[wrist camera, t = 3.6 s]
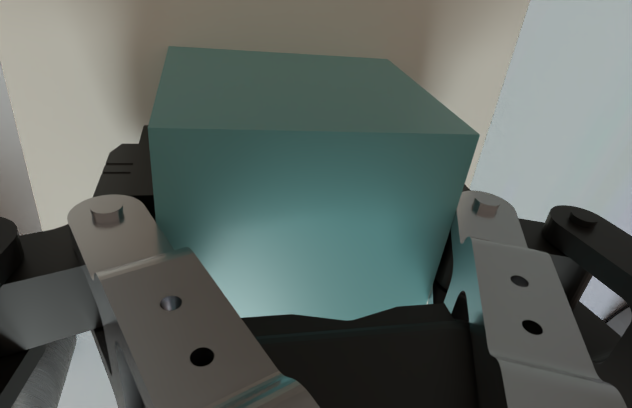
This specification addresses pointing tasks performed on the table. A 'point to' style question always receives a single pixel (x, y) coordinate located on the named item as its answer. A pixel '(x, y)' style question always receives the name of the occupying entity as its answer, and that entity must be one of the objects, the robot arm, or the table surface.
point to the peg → (48, 376)
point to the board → (220, 33)
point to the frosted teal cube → (306, 178)
